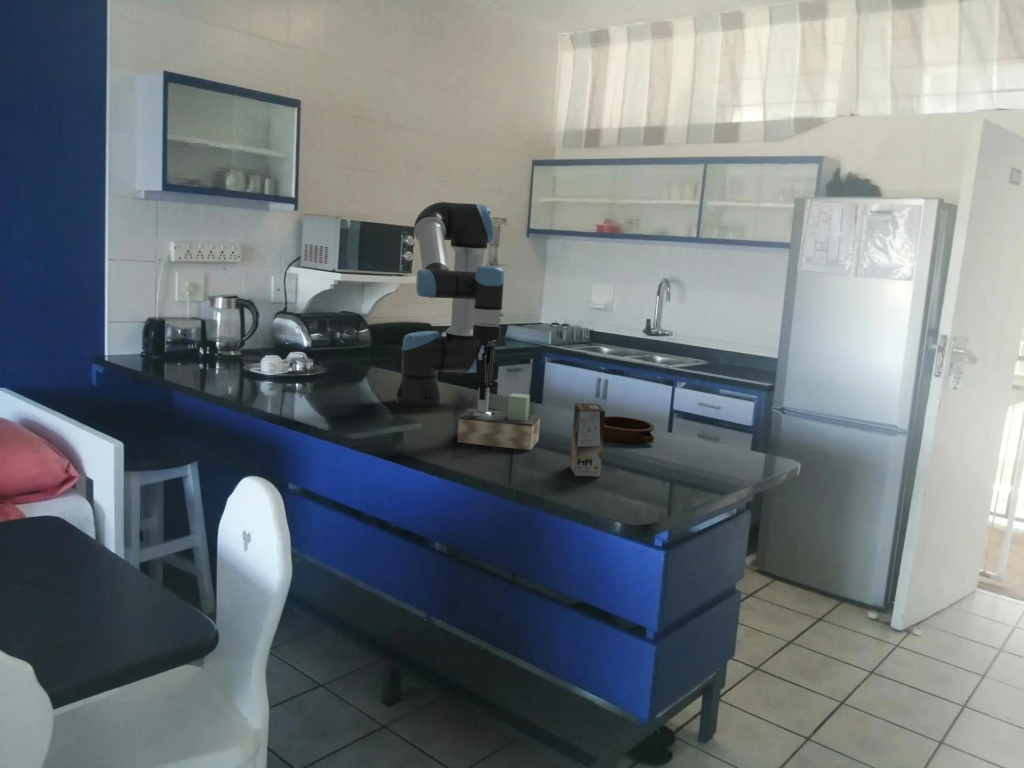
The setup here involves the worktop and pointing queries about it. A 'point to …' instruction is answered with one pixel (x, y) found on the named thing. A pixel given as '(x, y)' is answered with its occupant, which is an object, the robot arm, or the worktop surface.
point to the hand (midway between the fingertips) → (482, 410)
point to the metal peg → (482, 413)
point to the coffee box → (587, 439)
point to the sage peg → (518, 407)
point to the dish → (627, 430)
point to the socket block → (498, 430)
